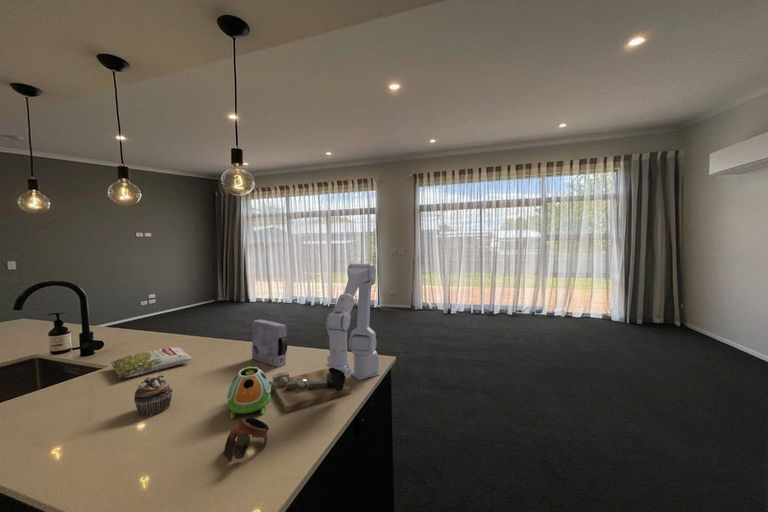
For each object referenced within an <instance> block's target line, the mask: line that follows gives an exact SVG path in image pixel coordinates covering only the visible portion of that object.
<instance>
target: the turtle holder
mask: <svg viewBox="0 0 768 512" xmlns="http://www.w3.org/2000/svg"><path fill="white" fill-rule="evenodd" d="M269 382H270V380H269V379H268V377H267V376H266V374H265V372H264V371H263V370H262V369H260V368H259V367H258V366H250V365H249V366H247V367H244V368H241V369H240V370H239V371H238V373H237V374H236V375H235V377H234V378H233V379H232V381H231V383H230V385H229V388H228V393H227V395H226V400H227V407H228V409H229V410H230V419H233V420H234V419H235V418H236V417H237V414H248V413H254V412H256V411H259V415H260V416H261V415H264V414H265V412H266V411H265V410H266V408H265V406H267V404H269V402H270V401H271V395H272V394H271V391H270V390H271V389H270V387H271V384H270V385H269Z"/></svg>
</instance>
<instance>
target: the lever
mask: <svg viewBox="0 0 768 512" xmlns="http://www.w3.org/2000/svg"><path fill="white" fill-rule="evenodd" d="M324 387H328V388H334V382H333V379H332V376H331V374H330V372H329V373H327V381H310V382H308V379H307V378H306V377H301V378H298V379H297V381H288V383H287V389H299V390H303V389H306V388H324Z"/></svg>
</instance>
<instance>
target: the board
mask: <svg viewBox="0 0 768 512" xmlns="http://www.w3.org/2000/svg"><path fill="white" fill-rule="evenodd" d="M327 373H329V368H328V367H326V368H323V369H320V370H315V371H311V372H307V373H303V374H299V375H298V374H297V375H295V376H292V377H290V373H289V372H288V371H285V372H284V371H283V372H280V373H276V374H272V381H271V383H270V387H271V388H272V389H273V391H274V392H273V393H274V395H275V397H276V399H277V400H278V402H279V403H280V405H282V406H281V407H282V409H283V411H284V412H285V413H286V414H288V413H290V412H293V411H297V410H300V409H304V408H307V407H310V406H313V405H317V404H320V403H323V402H327V401H329V400H334V399H336V398H340V397H343V396H345V395H350V394H351V393H352V392H351V387H350V386H349V385H348V384H347V383H346V381H345V382H344V386H343V390H341V391H336V390H335V387H334V388H328V387H324V388H306V389H303V390H299V389H287V383H288V381H297V379H298V378H301V377H306V378H307V379H308V382H310V381H327Z"/></svg>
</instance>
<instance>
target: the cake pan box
mask: <svg viewBox="0 0 768 512" xmlns="http://www.w3.org/2000/svg"><path fill="white" fill-rule="evenodd" d="M251 342H252V344H251V345H252V347H251V348H252V349H251V358H252V359H251V360H255V361H258V362H261V363H262V364H265V363H266V365H269V364H270V366H273V367H276V368H280V367H282V365H283V366H286V364H287V351H288V339H287V325H286V324H282V323H278V322H276V321H275V322H274V321H269V320H266V319H262V318H261V319H256V320H252V340H251ZM279 366H280V367H279Z"/></svg>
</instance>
